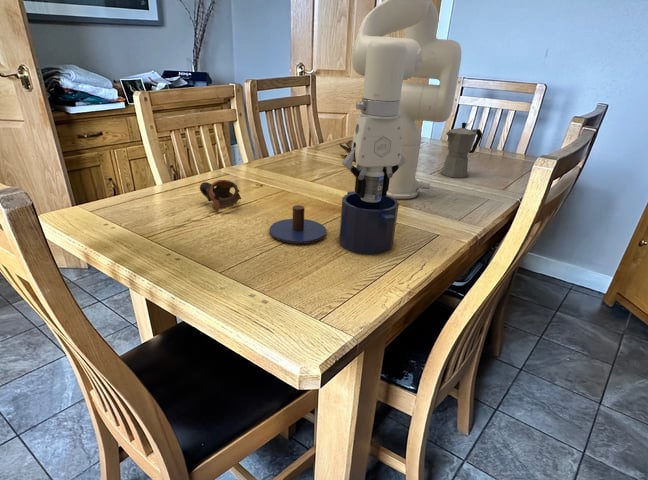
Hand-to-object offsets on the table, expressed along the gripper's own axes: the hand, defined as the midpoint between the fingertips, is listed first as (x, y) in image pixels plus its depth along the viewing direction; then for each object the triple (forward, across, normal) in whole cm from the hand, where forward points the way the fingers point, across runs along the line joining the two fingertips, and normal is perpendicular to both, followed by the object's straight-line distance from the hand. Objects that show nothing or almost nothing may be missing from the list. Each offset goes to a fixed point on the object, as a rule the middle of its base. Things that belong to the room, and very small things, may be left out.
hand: (371, 194), depth 98 cm
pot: (+12, 0, 0) cm, 12 cm away
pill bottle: (+1, 0, 0) cm, 1 cm away
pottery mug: (+12, -30, +32) cm, 45 cm away
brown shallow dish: (+12, +36, +77) cm, 86 cm away
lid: (+11, -14, +9) cm, 20 cm away
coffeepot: (+12, +57, +48) cm, 76 cm away
